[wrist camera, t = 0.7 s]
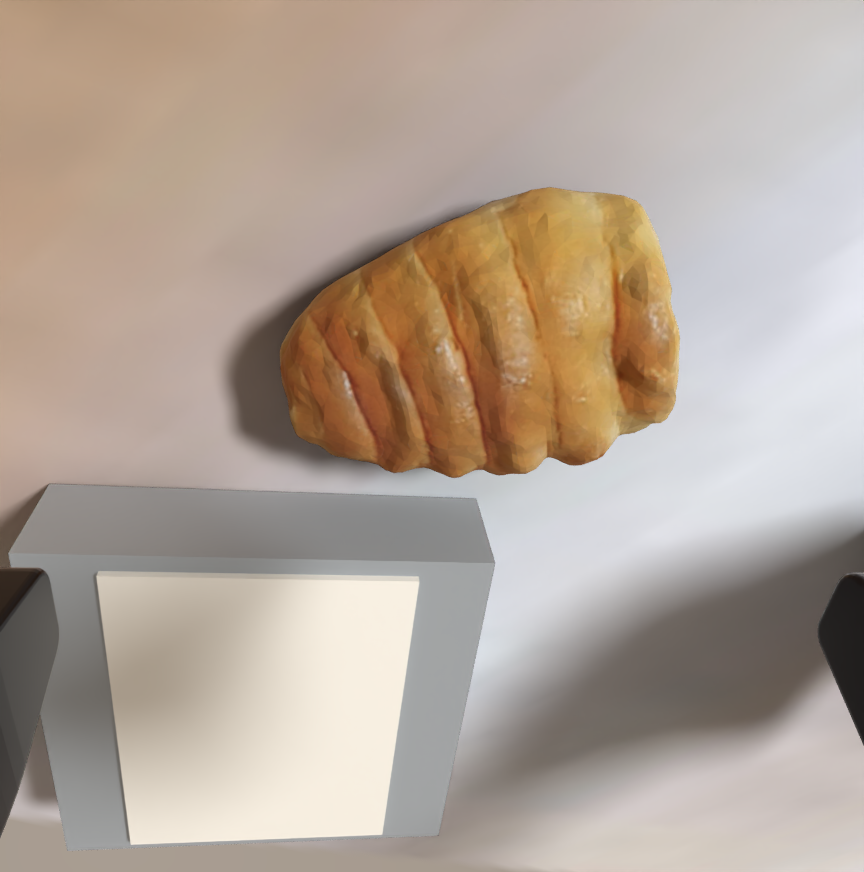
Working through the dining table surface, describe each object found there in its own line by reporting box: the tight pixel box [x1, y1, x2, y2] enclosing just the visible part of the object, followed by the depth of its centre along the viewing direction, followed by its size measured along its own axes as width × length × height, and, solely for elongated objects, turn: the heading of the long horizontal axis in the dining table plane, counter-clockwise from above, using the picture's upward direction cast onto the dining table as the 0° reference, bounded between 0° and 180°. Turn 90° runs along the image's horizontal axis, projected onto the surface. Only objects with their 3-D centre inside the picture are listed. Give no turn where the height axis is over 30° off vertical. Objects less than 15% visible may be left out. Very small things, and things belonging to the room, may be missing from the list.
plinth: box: [8, 484, 495, 851], centre depth 23 cm, size 12×12×3 cm
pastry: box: [280, 187, 680, 478], centre depth 17 cm, size 9×7×4 cm
